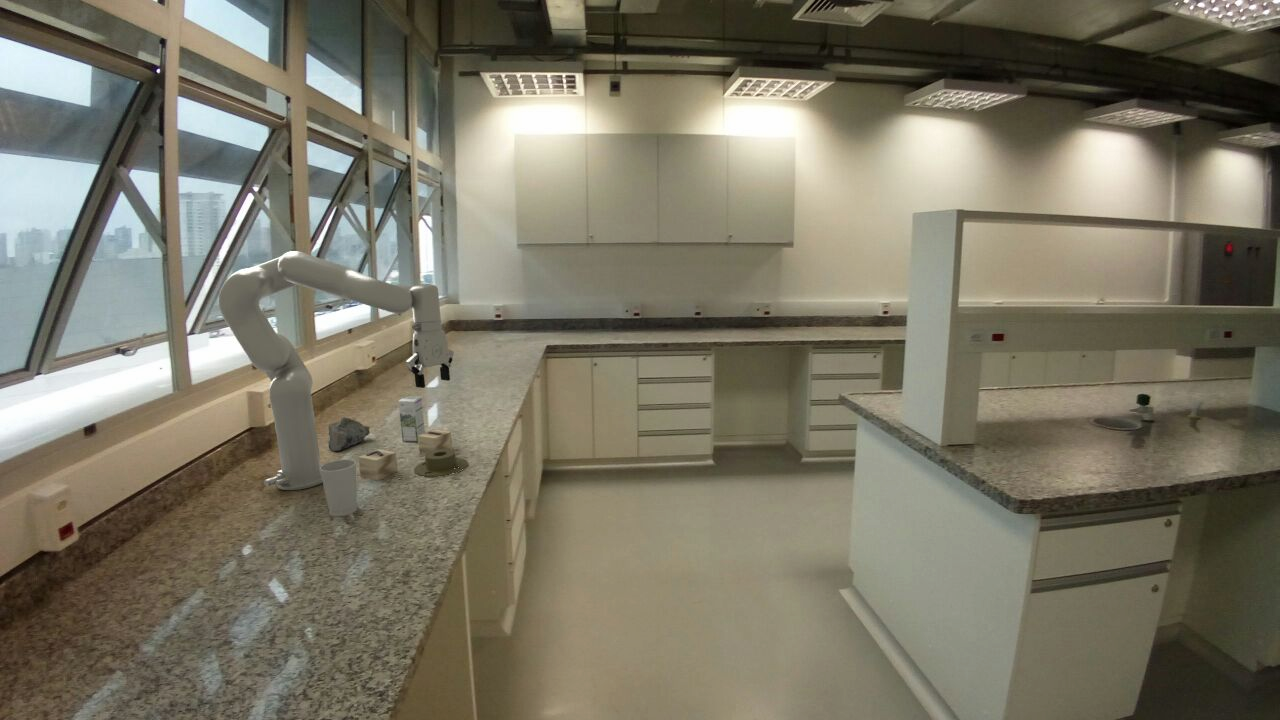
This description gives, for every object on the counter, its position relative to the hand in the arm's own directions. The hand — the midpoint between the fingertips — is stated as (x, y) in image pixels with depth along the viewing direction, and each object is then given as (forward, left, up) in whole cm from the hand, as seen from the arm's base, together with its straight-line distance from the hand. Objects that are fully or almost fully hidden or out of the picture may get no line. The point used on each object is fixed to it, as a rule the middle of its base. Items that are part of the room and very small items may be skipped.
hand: (433, 383), depth 176 cm
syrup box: (+11, +23, -24) cm, 35 cm away
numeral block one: (+5, +7, -24) cm, 26 cm away
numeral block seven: (-16, +8, -24) cm, 30 cm away
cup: (-37, -4, -24) cm, 44 cm away
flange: (-5, -5, -25) cm, 26 cm away
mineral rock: (-2, +38, -24) cm, 45 cm away
